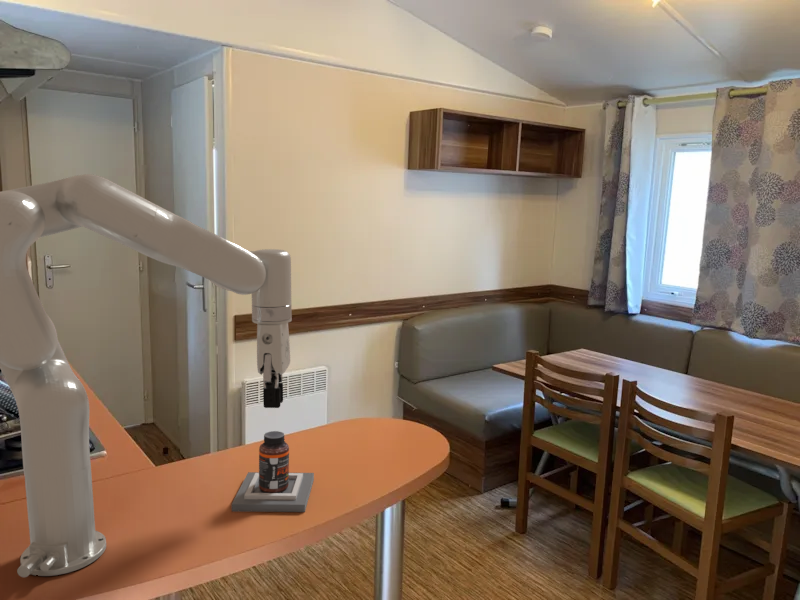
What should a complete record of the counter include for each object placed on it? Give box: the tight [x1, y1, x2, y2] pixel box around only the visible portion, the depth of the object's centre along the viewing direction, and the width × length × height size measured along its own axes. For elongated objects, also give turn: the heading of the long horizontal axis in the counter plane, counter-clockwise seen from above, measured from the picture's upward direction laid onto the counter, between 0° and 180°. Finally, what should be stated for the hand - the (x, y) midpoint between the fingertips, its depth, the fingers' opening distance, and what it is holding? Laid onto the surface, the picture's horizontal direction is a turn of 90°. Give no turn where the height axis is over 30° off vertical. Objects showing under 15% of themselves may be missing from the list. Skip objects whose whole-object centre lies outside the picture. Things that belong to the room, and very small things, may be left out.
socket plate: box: [231, 471, 315, 513], centre depth 125 cm, size 14×14×2 cm
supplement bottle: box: [258, 430, 290, 493], centre depth 124 cm, size 6×6×11 cm
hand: (273, 404), depth 123 cm, fingers closed
